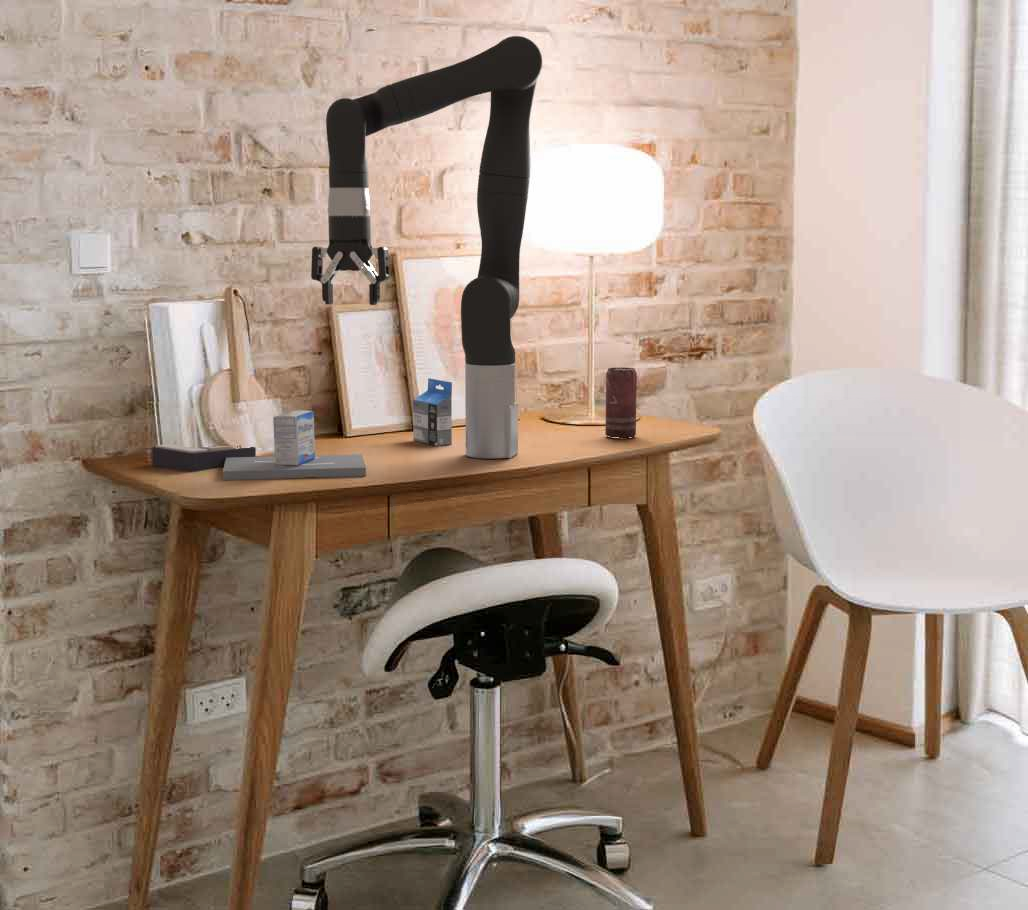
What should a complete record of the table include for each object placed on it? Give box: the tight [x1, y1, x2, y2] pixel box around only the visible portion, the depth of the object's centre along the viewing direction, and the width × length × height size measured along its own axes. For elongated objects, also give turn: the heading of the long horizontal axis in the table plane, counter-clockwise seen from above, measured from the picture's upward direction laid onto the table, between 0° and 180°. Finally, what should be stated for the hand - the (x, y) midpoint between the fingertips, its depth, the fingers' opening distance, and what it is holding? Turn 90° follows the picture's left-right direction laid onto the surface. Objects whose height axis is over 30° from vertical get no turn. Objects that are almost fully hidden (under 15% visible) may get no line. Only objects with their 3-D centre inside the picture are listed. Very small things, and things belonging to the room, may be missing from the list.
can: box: [605, 367, 638, 438], centre depth 276 cm, size 6×6×14 cm
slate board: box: [222, 453, 367, 481], centre depth 239 cm, size 24×14×2 cm, turn 99°
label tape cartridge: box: [412, 377, 453, 447], centre depth 269 cm, size 9×4×12 cm, turn 36°
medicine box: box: [272, 409, 316, 466], centre depth 238 cm, size 8×4×9 cm, turn 166°
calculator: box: [151, 443, 257, 473], centre depth 247 cm, size 11×4×15 cm
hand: (351, 304), depth 249 cm, fingers open, 8 cm apart
